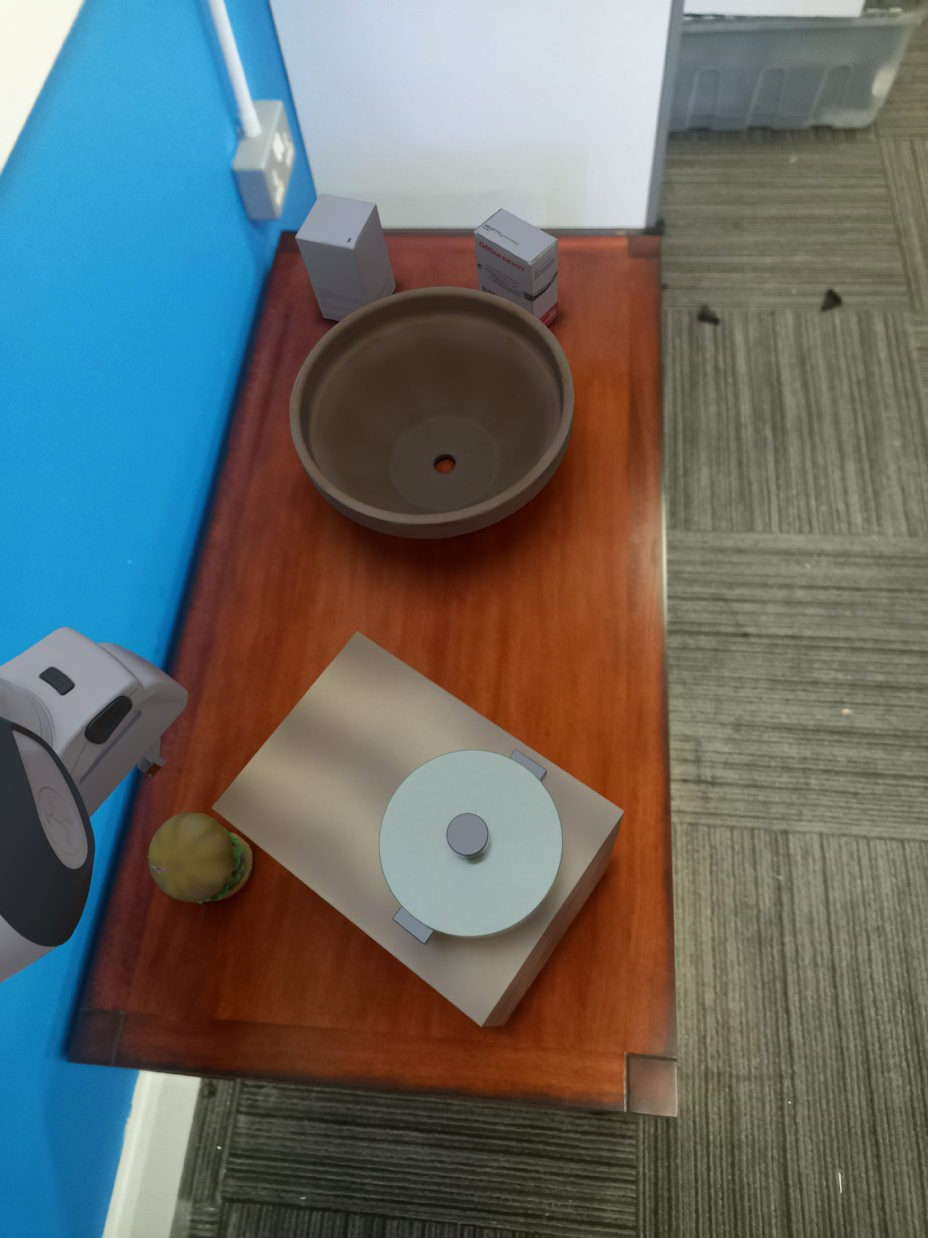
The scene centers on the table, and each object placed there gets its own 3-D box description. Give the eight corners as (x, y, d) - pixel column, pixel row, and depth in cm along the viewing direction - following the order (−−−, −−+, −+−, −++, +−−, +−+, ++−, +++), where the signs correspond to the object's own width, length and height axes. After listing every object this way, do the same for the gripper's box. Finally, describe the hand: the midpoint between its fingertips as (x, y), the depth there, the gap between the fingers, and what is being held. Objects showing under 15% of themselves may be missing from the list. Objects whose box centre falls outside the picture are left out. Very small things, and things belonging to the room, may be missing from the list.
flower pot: (531, 612, 91) (526, 550, 79) (280, 548, 97) (241, 482, 85) (602, 394, 101) (607, 310, 89) (372, 349, 107) (348, 265, 96)
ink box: (559, 316, 107) (560, 237, 96) (533, 342, 106) (530, 265, 95) (506, 284, 110) (500, 204, 99) (479, 308, 108) (470, 230, 98)
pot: (490, 995, 54) (479, 990, 47) (356, 888, 58) (326, 868, 50) (602, 828, 58) (608, 799, 50) (468, 736, 61) (456, 697, 54)
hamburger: (275, 848, 84) (232, 822, 73) (241, 923, 81) (191, 908, 70) (204, 820, 85) (153, 790, 75) (169, 893, 83) (109, 873, 72)
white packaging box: (397, 286, 111) (379, 201, 100) (374, 331, 109) (352, 249, 97) (344, 274, 113) (320, 190, 101) (320, 318, 110) (292, 236, 99)
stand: (503, 1026, 75) (481, 1027, 54) (302, 864, 83) (210, 807, 61) (607, 868, 80) (624, 811, 58) (407, 728, 87) (357, 630, 65)
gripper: (-118, 964, 46) (27, 976, 58) (155, 659, 52) (234, 729, 64) (-188, 890, 48) (-33, 916, 60) (83, 604, 54) (173, 682, 66)
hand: (106, 818), depth 62 cm, fingers open, 8 cm apart
